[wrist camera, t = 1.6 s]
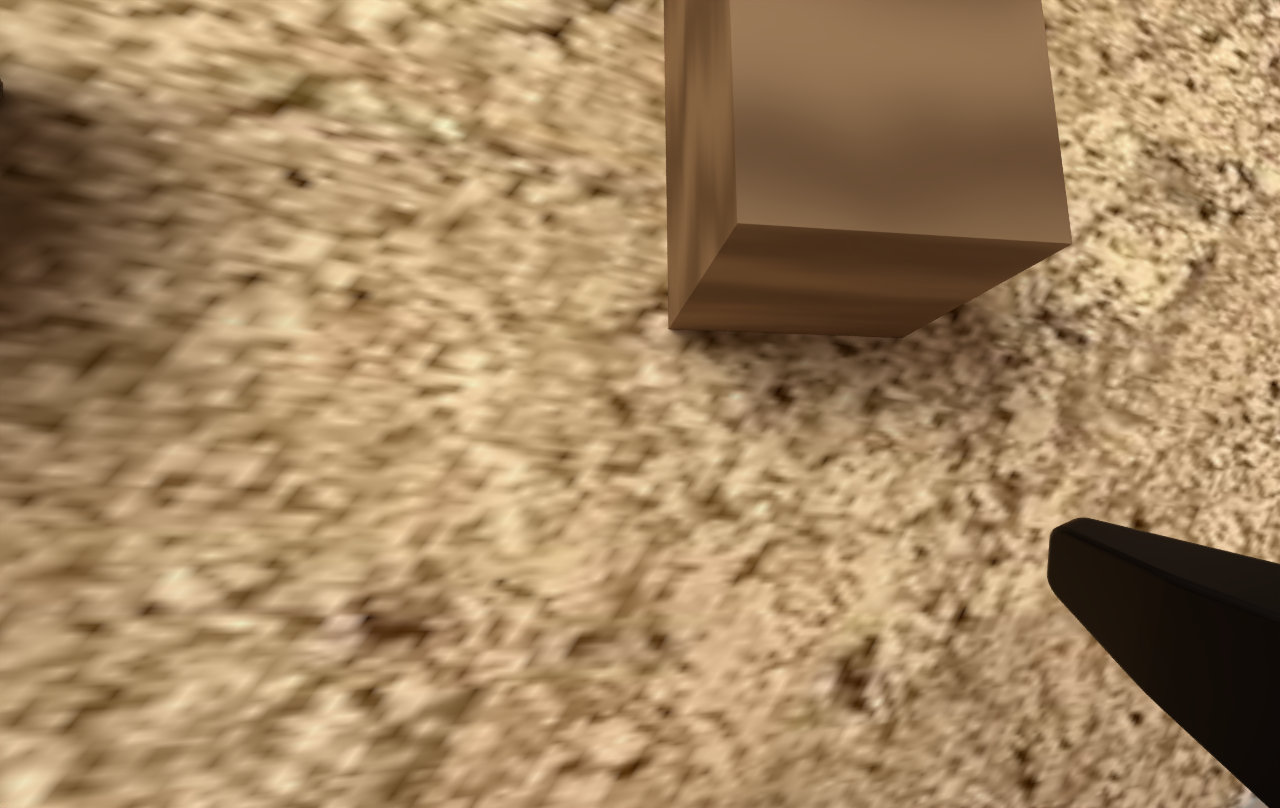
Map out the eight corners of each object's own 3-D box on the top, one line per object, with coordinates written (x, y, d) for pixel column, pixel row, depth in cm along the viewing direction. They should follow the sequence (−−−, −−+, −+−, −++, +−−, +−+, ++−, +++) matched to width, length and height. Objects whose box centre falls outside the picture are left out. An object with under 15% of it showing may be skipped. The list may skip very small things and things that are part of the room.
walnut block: (899, 338, 28) (1072, 243, 19) (667, 330, 26) (737, 222, 17) (871, -26, 31) (1008, -254, 22) (662, -51, 29) (719, -304, 21)
